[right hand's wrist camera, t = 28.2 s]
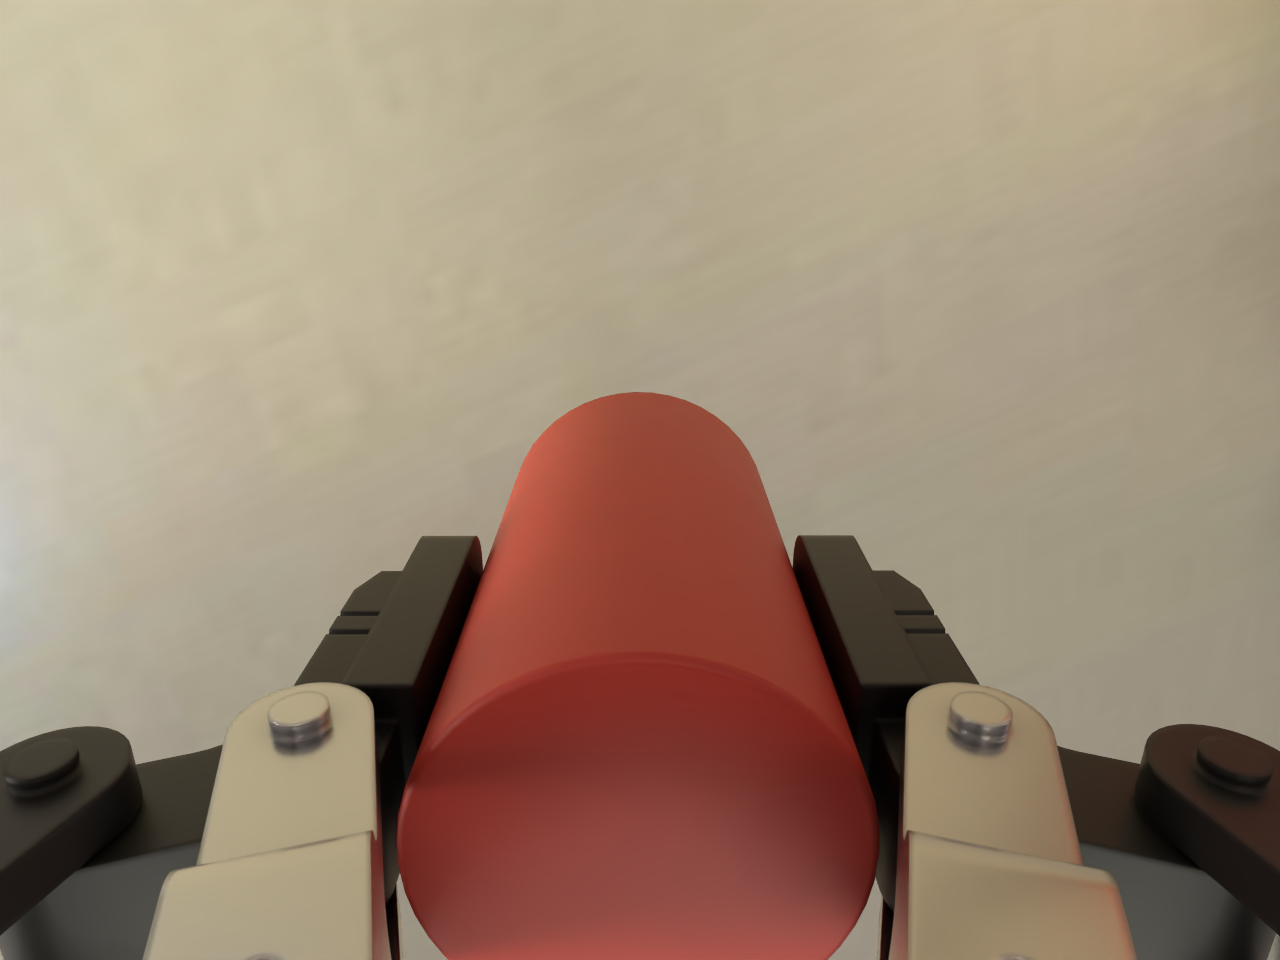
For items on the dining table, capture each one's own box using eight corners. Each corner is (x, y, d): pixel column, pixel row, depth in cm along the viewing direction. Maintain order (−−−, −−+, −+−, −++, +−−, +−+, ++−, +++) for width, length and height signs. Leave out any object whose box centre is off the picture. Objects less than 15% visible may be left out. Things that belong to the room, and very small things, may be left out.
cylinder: (782, 403, 14) (931, 679, 7) (744, 631, 16) (834, 1049, 8) (519, 378, 14) (392, 633, 7) (508, 610, 16) (394, 1020, 8)
